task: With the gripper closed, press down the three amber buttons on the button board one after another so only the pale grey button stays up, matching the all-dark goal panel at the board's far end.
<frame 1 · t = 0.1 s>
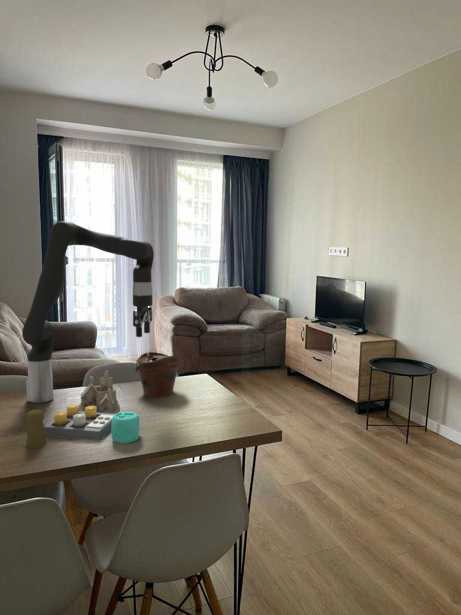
hand: (143, 334, 176), 29 cm above the table, tool pointing down, fingers open, 8 cm apart
amber button 1: (60, 418, 154), point 5 cm above the table, slide at 0.0 cm
button board: (83, 428, 157), on the table
brown tapered round container: (157, 393, 198), on the table
ceramic cottage: (98, 411, 175), on the table
olive rounded cylinder: (36, 444, 144), on the table
amber button 3: (90, 411, 160), point 5 cm above the table, slide at 0.0 cm
decorative dice: (125, 439, 149), on the table
grey button: (79, 419, 152), point 5 cm above the table, slide at 0.0 cm
amber button 2: (72, 410, 161), point 5 cm above the table, slide at 0.0 cm
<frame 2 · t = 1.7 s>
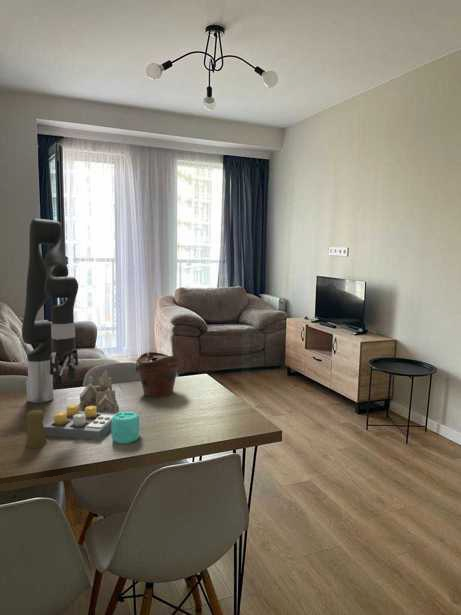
hand: (65, 382, 153), 17 cm above the table, tool pointing down, fingers open, 8 cm apart
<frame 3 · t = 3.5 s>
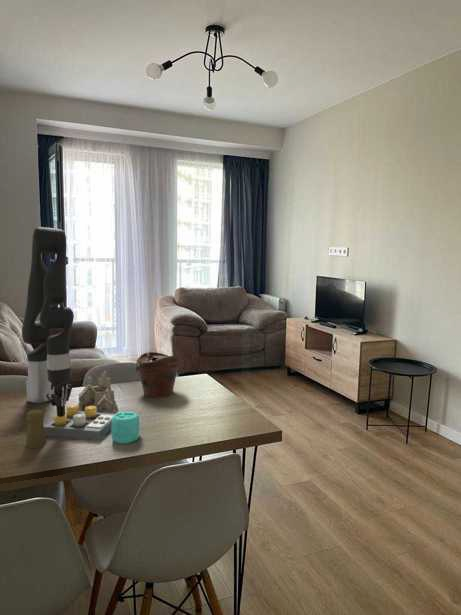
hand: (61, 415, 153), 6 cm above the table, tool pointing down, fingers closed
amber button 1: (60, 419, 154), point 4 cm above the table, slide at 0.5 cm, touching gripper
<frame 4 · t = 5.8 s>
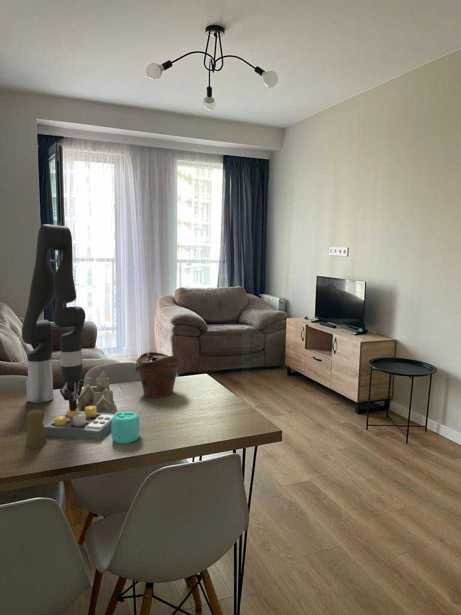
hand: (73, 410, 161), 5 cm above the table, tool pointing down, fingers closed
amber button 1: (60, 422, 154), point 3 cm above the table, slide at 1.4 cm
amber button 2: (72, 413, 162), point 3 cm above the table, slide at 1.3 cm, touching gripper
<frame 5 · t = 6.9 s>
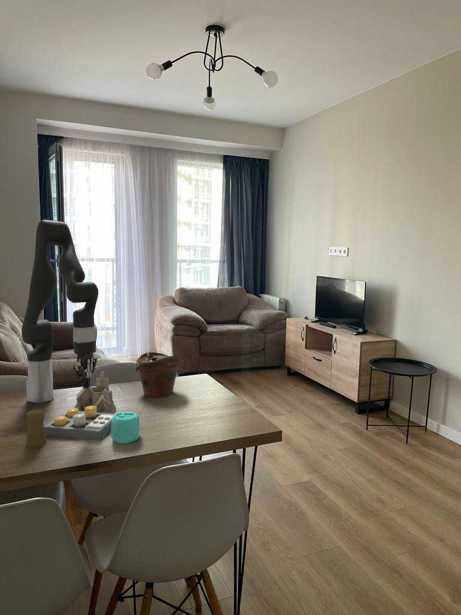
hand: (86, 387, 159), 14 cm above the table, tool pointing down, fingers closed
amber button 2: (72, 414, 162), point 3 cm above the table, slide at 1.4 cm
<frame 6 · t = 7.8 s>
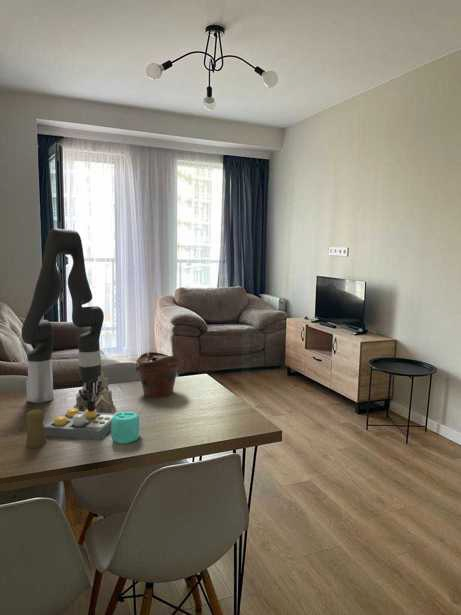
hand: (91, 410, 160), 5 cm above the table, tool pointing down, fingers closed
amber button 3: (90, 414, 160), point 4 cm above the table, slide at 1.1 cm, touching gripper
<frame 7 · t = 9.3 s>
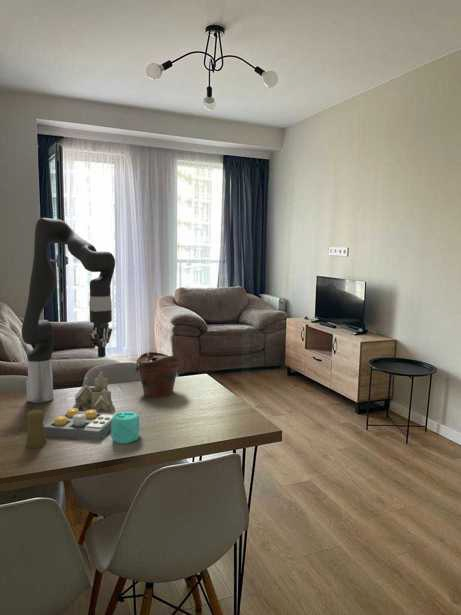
hand: (101, 356, 160), 24 cm above the table, tool pointing down, fingers closed
amber button 3: (90, 415, 160), point 3 cm above the table, slide at 1.4 cm
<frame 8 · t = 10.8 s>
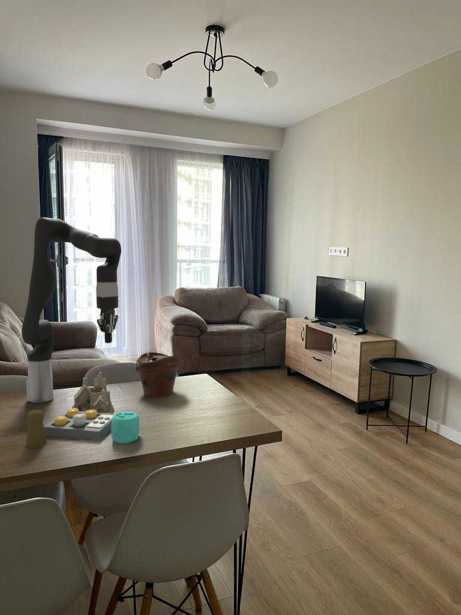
hand: (108, 342, 161), 29 cm above the table, tool pointing down, fingers closed
at the end: amber button 1 slide at 1.4 cm; amber button 3 slide at 1.4 cm; grey button slide at 0.0 cm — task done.
